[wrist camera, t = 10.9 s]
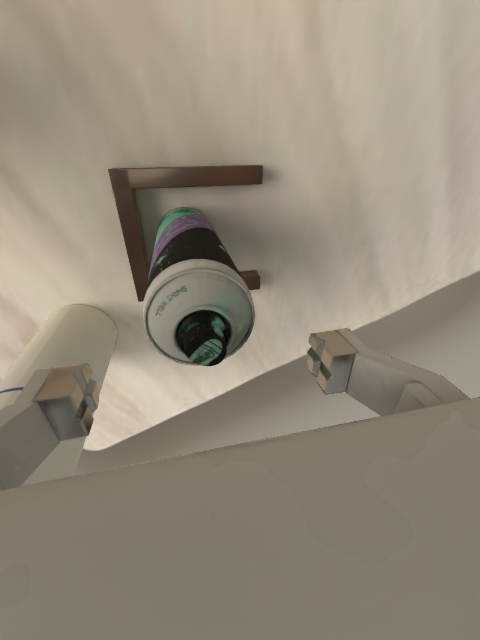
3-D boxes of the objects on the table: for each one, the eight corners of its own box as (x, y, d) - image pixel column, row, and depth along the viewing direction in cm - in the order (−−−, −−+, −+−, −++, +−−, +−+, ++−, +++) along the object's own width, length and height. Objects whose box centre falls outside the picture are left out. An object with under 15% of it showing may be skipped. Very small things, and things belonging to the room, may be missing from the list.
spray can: (216, 211, 27) (286, 295, 10) (209, 264, 30) (257, 400, 13) (159, 202, 26) (134, 282, 9) (156, 258, 28) (134, 403, 12)
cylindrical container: (35, 307, 28) (-366, 740, 7) (108, 301, 30) (-50, 653, 9) (58, 361, 32) (-164, 755, 11) (123, 354, 33) (36, 693, 12)
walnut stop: (257, 165, 26) (262, 165, 24) (255, 282, 32) (260, 289, 30) (112, 168, 24) (108, 169, 22) (140, 293, 30) (138, 301, 28)
